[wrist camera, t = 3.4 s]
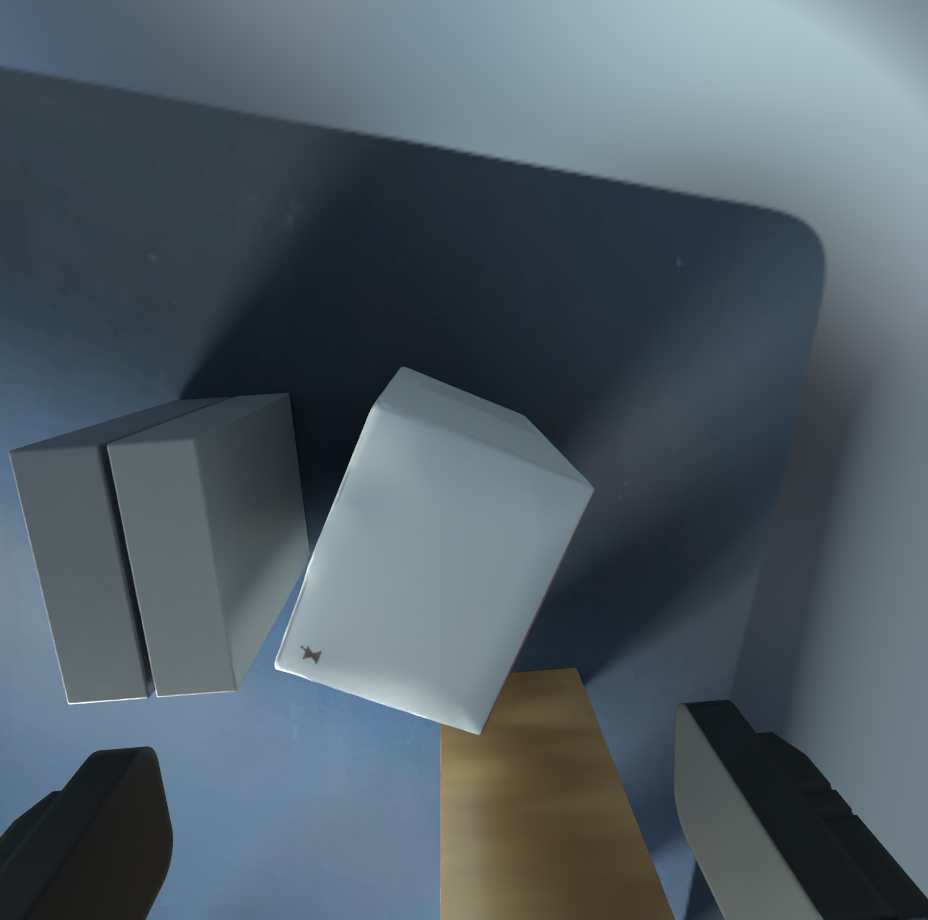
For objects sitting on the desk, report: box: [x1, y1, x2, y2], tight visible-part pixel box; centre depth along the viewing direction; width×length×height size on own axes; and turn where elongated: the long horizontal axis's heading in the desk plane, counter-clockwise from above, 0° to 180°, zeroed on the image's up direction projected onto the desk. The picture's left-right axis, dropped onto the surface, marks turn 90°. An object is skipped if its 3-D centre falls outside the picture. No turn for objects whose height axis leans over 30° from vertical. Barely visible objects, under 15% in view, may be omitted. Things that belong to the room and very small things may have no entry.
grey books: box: [9, 393, 310, 704], centre depth 23 cm, size 5×8×11 cm, turn 4°
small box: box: [274, 367, 595, 735], centre depth 23 cm, size 8×6×13 cm
